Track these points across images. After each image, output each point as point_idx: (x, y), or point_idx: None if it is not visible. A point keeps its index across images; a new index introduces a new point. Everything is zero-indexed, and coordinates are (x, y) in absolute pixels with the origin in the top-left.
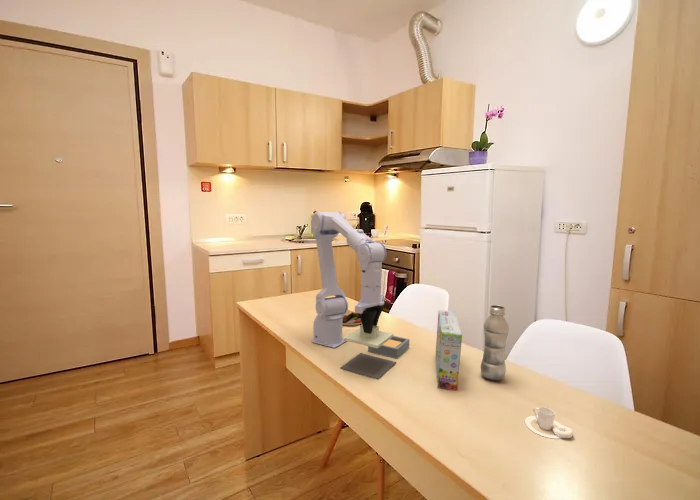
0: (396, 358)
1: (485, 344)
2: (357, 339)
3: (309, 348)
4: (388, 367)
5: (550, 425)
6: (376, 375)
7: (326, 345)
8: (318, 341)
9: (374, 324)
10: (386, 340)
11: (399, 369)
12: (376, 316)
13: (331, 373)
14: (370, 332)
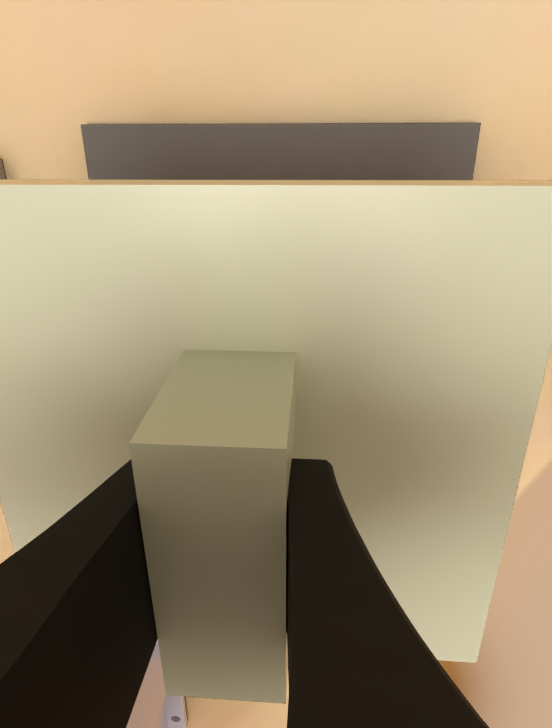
0: (2, 164)
1: None
2: (458, 531)
3: (263, 702)
4: (229, 137)
5: None
6: (436, 162)
7: None
8: (167, 708)
9: (130, 541)
10: (210, 182)
11: (179, 32)
12: (21, 700)
13: (523, 471)
14: (331, 471)
